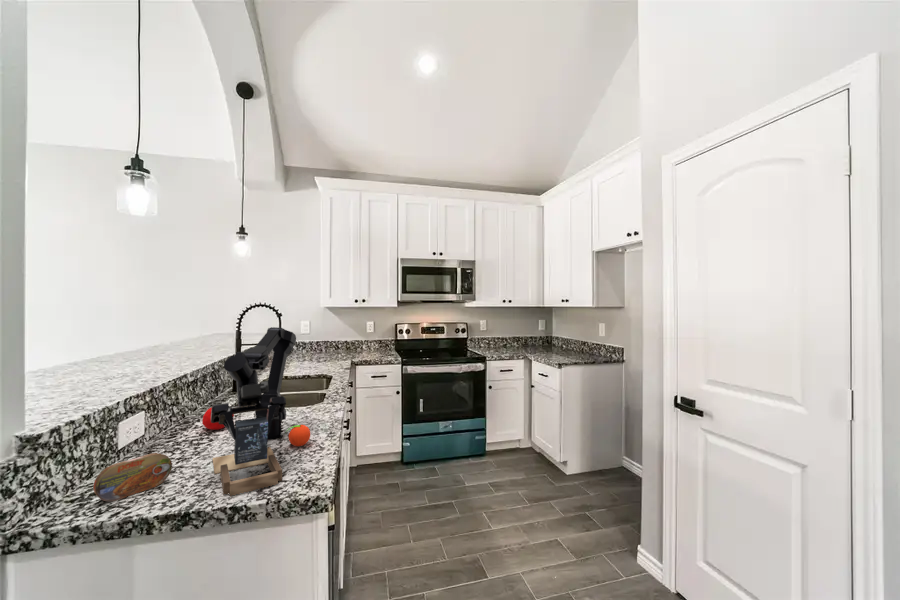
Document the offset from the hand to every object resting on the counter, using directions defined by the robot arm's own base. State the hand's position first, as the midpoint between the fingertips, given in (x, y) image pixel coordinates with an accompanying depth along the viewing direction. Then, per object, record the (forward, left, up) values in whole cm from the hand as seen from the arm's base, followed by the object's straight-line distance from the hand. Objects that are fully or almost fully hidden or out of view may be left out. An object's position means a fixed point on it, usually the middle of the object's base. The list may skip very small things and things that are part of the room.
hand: (252, 436), depth 100 cm
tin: (+25, -7, -11) cm, 28 cm away
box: (0, -1, -7) cm, 7 cm away
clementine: (-16, -16, -11) cm, 25 cm away
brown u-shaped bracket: (0, +1, -11) cm, 11 cm away
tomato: (+5, -50, -11) cm, 51 cm away
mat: (0, -13, -11) cm, 17 cm away
